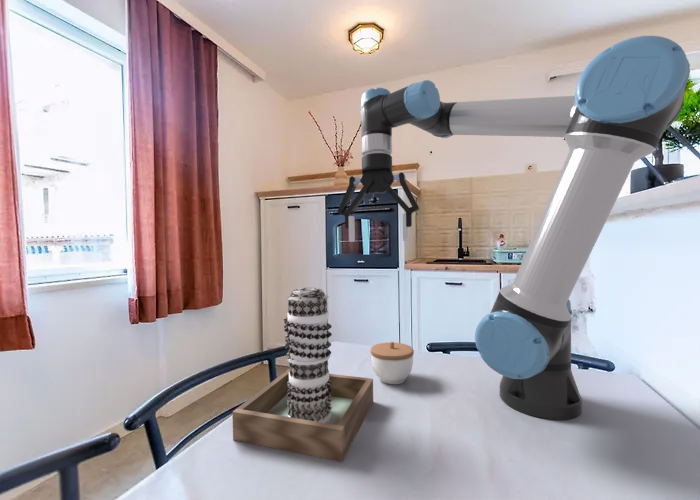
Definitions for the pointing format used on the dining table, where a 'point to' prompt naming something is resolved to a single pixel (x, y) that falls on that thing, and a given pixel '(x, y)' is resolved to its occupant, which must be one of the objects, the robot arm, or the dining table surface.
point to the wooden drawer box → (304, 435)
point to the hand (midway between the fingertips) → (377, 241)
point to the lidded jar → (392, 361)
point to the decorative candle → (308, 355)
